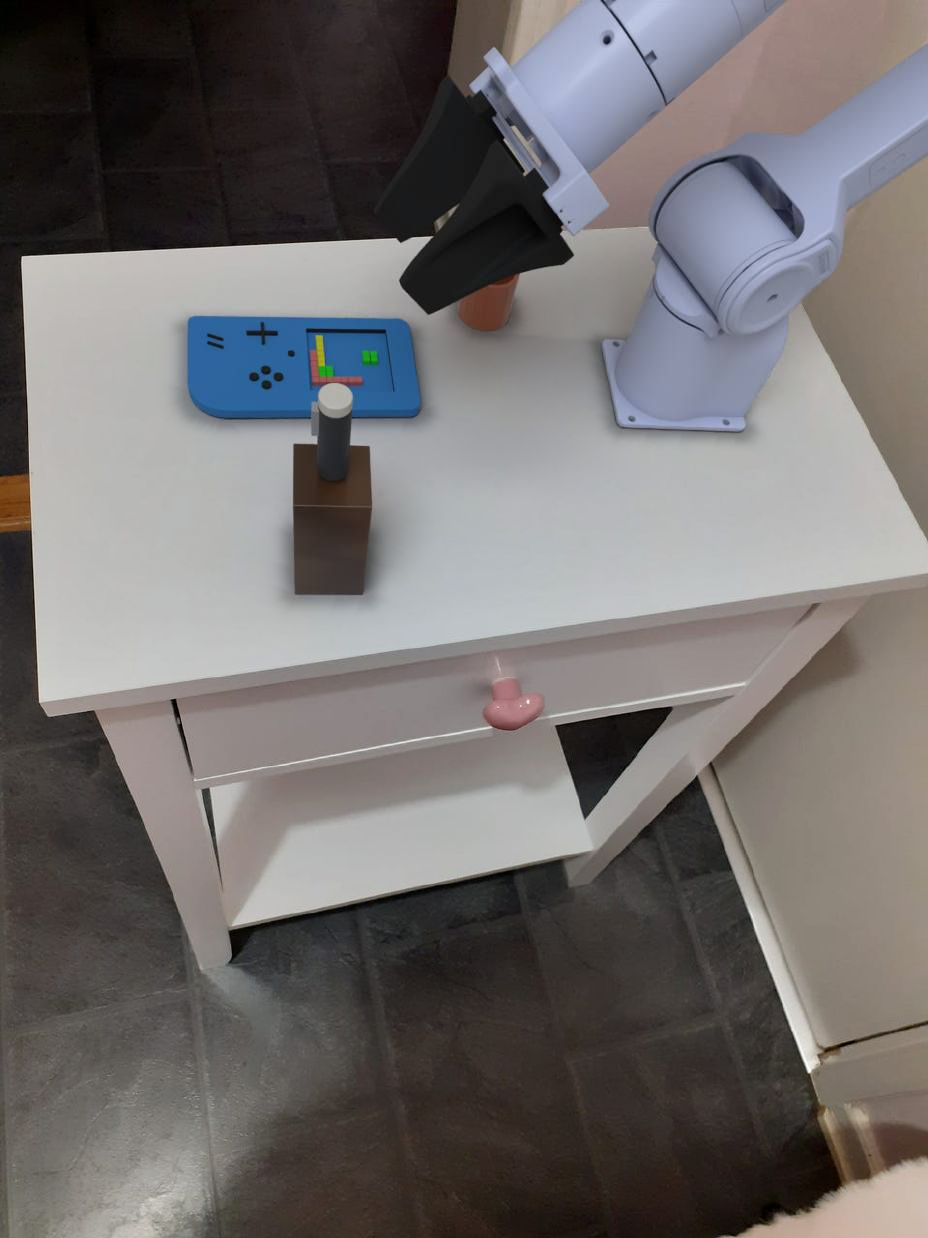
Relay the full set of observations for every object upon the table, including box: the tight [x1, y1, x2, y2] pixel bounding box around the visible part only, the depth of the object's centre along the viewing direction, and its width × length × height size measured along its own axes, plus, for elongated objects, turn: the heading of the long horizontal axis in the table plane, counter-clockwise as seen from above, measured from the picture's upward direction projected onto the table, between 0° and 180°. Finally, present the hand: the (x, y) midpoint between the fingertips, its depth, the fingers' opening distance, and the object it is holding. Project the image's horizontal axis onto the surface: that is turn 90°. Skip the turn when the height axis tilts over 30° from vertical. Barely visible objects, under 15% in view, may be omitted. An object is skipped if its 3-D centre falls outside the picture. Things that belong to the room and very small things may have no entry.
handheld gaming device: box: [187, 315, 422, 419], centre depth 62 cm, size 8×1×15 cm
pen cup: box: [457, 273, 521, 332], centre depth 66 cm, size 4×4×4 cm
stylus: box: [310, 383, 353, 481], centre depth 45 cm, size 2×2×6 cm
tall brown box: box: [292, 443, 373, 596], centre depth 52 cm, size 4×4×9 cm
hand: (399, 260), depth 45 cm, fingers open, 7 cm apart
